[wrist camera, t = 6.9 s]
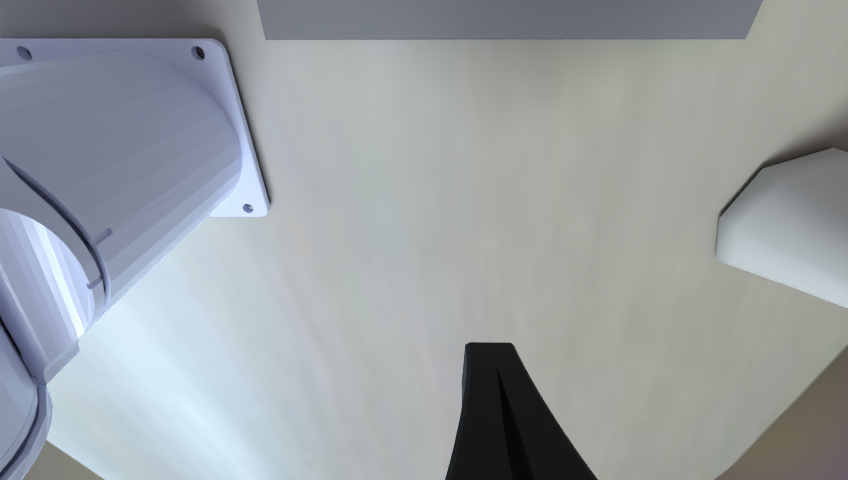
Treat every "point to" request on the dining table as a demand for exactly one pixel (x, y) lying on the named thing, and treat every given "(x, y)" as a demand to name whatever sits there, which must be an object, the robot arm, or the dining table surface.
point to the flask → (793, 225)
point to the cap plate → (506, 19)
